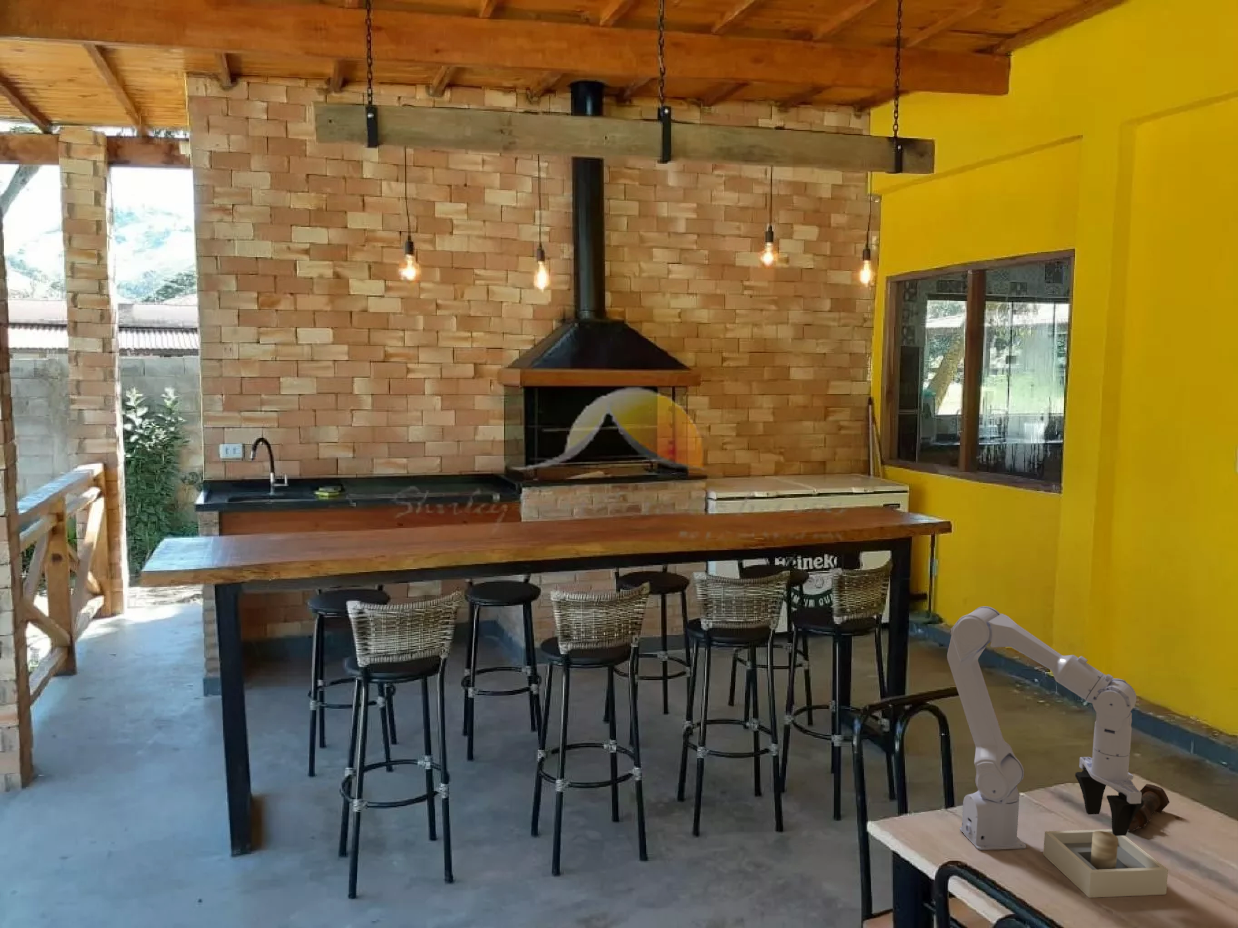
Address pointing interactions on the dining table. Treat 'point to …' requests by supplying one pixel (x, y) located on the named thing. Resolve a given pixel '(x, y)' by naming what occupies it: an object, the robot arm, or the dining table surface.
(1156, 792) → the bolt
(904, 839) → the dining table surface
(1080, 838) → the box
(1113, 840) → the peg
